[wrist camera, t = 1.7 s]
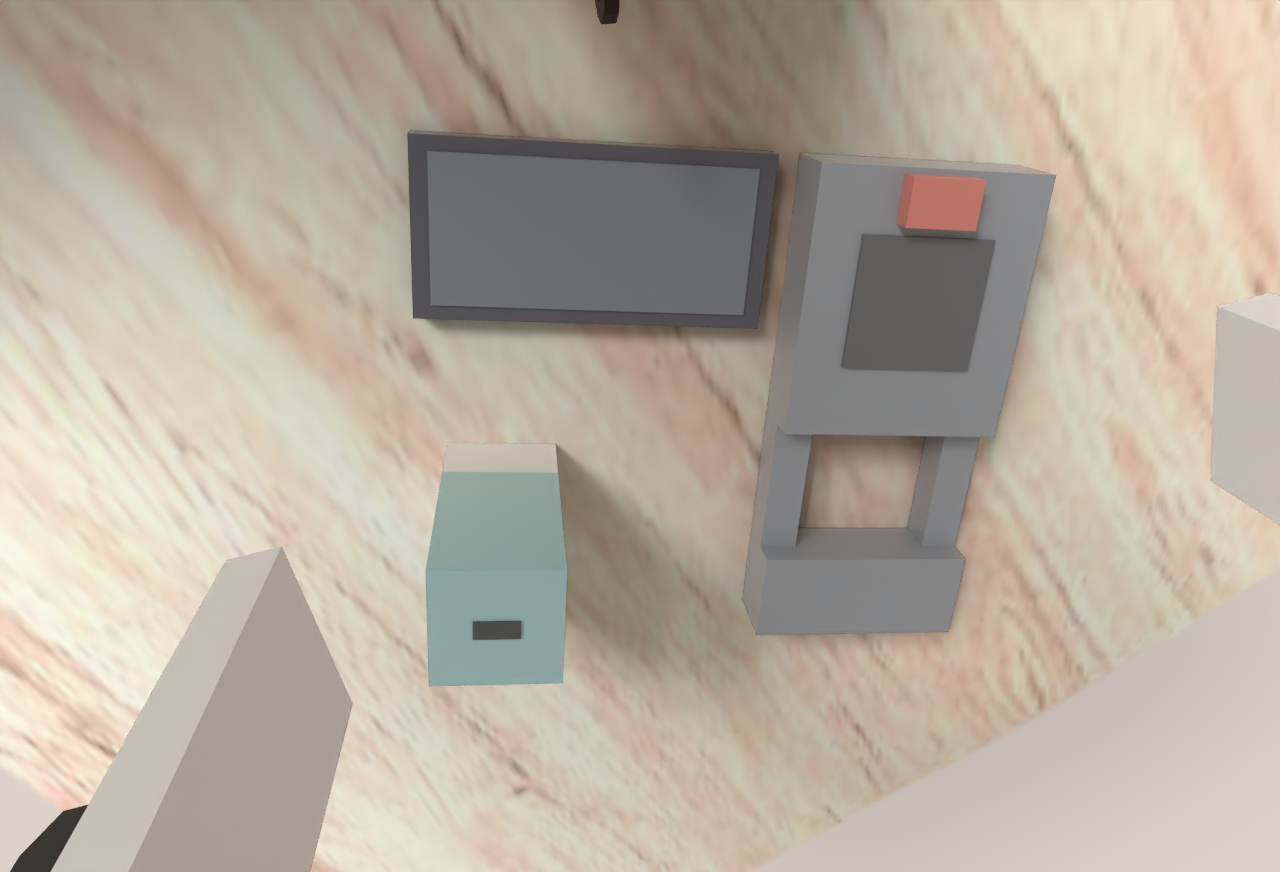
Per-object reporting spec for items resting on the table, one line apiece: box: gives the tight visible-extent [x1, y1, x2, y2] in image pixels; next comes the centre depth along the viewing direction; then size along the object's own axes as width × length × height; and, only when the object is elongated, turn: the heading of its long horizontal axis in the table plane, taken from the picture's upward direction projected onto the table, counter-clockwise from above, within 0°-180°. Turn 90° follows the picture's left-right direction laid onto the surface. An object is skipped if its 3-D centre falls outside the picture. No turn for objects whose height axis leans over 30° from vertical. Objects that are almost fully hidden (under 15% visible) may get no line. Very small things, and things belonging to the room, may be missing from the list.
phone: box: [408, 130, 779, 329], centre depth 31 cm, size 12×6×1 cm, turn 86°
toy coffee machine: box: [742, 153, 1056, 635], centre depth 34 cm, size 18×8×3 cm, turn 176°
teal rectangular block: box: [426, 442, 567, 686], centre depth 31 cm, size 4×4×9 cm
